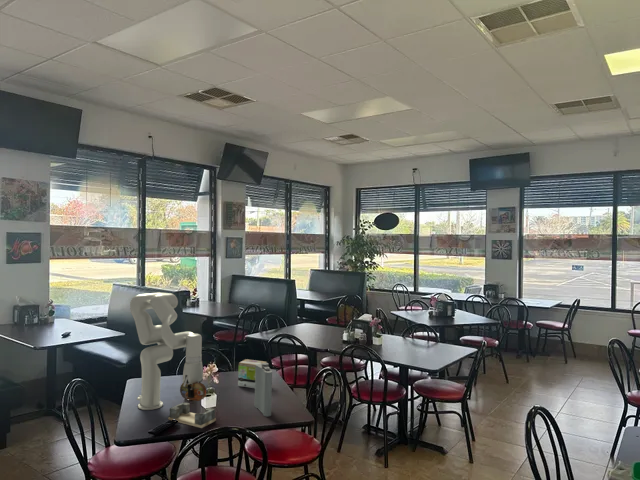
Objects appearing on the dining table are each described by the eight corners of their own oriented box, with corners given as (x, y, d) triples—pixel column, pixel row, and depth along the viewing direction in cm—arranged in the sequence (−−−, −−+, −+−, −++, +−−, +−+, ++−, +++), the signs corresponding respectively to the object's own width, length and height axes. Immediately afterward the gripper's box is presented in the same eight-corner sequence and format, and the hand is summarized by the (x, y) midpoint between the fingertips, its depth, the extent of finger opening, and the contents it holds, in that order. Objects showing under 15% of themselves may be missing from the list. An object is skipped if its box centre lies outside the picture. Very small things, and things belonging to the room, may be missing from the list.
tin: (179, 397, 236) (179, 381, 235) (184, 395, 238) (183, 379, 238) (203, 402, 229) (203, 385, 229) (207, 400, 232) (207, 383, 232)
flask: (273, 415, 243) (274, 366, 243) (265, 416, 241) (266, 367, 241) (261, 404, 258) (263, 358, 258) (253, 405, 256) (255, 359, 256)
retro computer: (237, 386, 289) (238, 362, 289) (244, 382, 298) (245, 358, 298) (260, 389, 284) (260, 364, 284) (266, 384, 294) (267, 361, 294)
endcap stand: (201, 428, 224) (201, 416, 224) (168, 419, 234) (168, 408, 234) (215, 420, 234) (215, 409, 234) (183, 412, 243) (183, 401, 243)
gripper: (198, 355, 243) (198, 390, 243) (176, 361, 228) (175, 400, 228) (210, 356, 239) (209, 393, 239) (188, 363, 225) (187, 402, 225)
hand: (193, 396), depth 234 cm, fingers closed on tin, 2 cm apart
